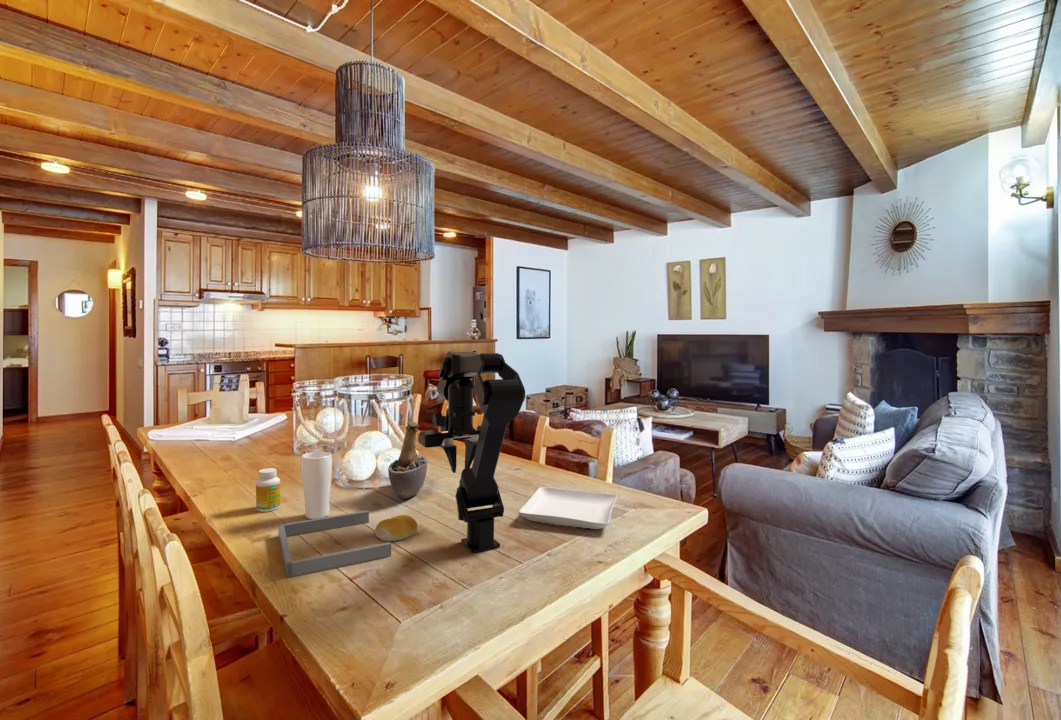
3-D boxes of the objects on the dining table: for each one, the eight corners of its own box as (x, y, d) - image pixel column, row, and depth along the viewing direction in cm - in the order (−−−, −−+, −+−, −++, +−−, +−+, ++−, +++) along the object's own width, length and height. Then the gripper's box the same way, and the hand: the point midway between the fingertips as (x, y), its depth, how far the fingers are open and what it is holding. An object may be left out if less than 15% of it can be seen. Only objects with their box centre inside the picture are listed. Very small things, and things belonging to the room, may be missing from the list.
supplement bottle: (270, 513, 127) (269, 474, 126) (251, 511, 128) (250, 472, 127) (285, 505, 132) (284, 468, 131) (266, 503, 133) (265, 466, 132)
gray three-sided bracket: (391, 555, 104) (391, 543, 104) (287, 577, 95) (286, 564, 95) (367, 520, 123) (367, 510, 123) (278, 535, 113) (278, 524, 113)
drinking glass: (300, 522, 121) (298, 459, 120) (304, 512, 127) (303, 452, 126) (331, 520, 123) (330, 457, 122) (333, 509, 129) (333, 450, 128)
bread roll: (424, 532, 117) (424, 515, 117) (393, 545, 110) (392, 527, 110) (400, 523, 122) (400, 506, 122) (368, 535, 115) (368, 518, 114)
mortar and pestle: (396, 508, 131) (396, 430, 130) (370, 491, 144) (369, 419, 142) (447, 496, 140) (448, 423, 139) (418, 481, 153) (418, 414, 152)
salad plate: (618, 505, 136) (618, 492, 136) (607, 537, 116) (608, 522, 116) (539, 497, 142) (540, 485, 142) (516, 526, 122) (517, 512, 121)
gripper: (483, 398, 133) (482, 458, 134) (411, 403, 123) (411, 468, 125) (502, 405, 123) (501, 469, 124) (425, 410, 114) (425, 480, 115)
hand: (460, 471), depth 122 cm, fingers open, 3 cm apart
